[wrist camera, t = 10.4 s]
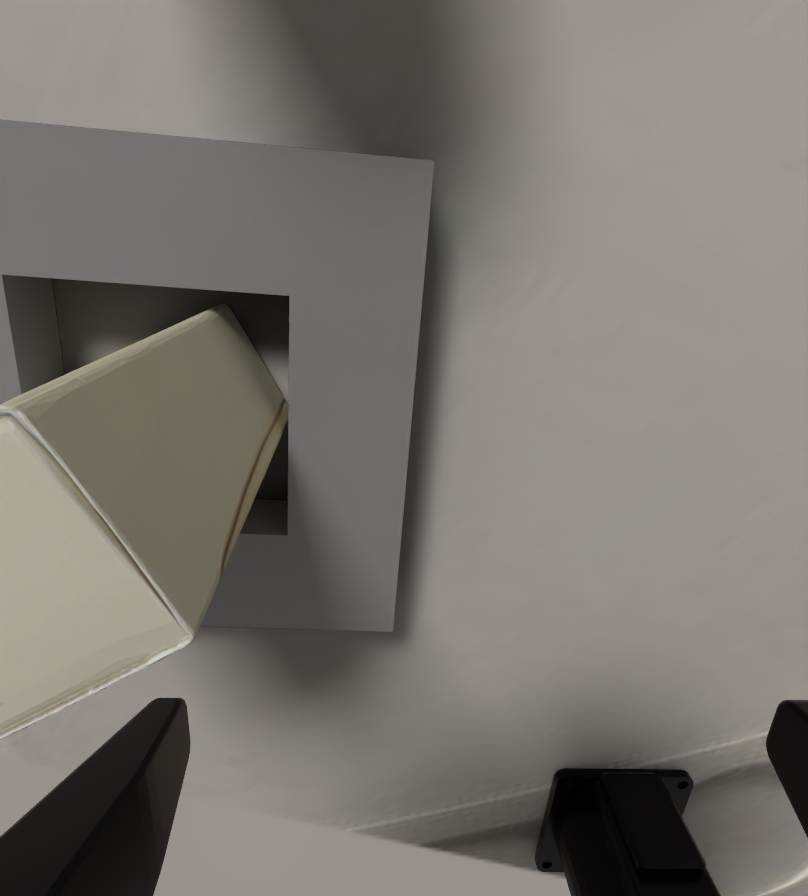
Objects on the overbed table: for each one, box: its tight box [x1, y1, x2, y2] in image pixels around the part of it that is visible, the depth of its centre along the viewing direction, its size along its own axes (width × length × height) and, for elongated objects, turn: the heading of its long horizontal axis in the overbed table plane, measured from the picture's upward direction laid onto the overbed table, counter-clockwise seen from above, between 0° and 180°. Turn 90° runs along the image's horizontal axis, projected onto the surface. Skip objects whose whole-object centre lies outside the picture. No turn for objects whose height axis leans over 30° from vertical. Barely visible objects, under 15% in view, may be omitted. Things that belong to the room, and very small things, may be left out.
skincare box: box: [0, 304, 289, 739], centre depth 14 cm, size 6×4×12 cm
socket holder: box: [0, 120, 435, 632], centre depth 18 cm, size 15×15×2 cm
